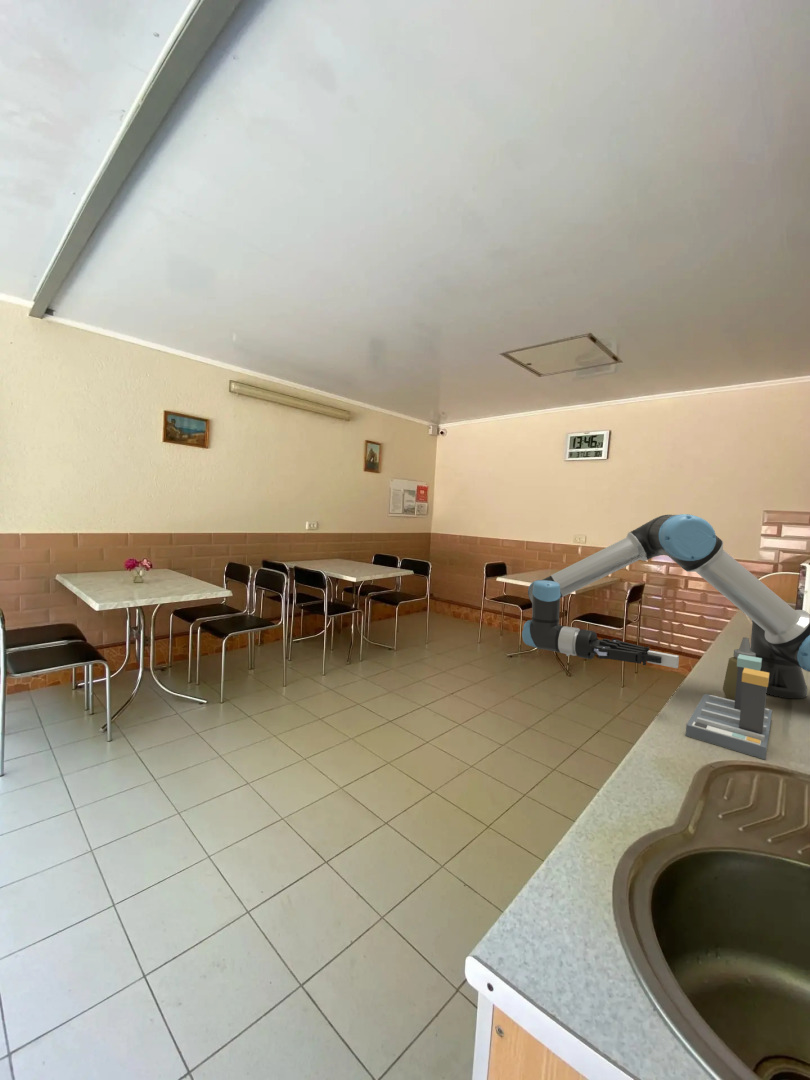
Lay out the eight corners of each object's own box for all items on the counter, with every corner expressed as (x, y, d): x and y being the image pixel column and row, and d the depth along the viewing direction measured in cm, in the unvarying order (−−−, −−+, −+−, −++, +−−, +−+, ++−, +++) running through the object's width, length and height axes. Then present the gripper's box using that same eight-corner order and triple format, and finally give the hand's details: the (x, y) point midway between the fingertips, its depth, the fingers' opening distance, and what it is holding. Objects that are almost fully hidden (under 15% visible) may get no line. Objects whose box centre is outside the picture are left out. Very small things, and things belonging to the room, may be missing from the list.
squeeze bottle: (754, 703, 122) (760, 636, 120) (763, 714, 114) (769, 644, 113) (718, 696, 125) (723, 632, 124) (725, 708, 118) (730, 639, 117)
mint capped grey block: (734, 705, 113) (739, 654, 112) (757, 711, 110) (761, 658, 109) (733, 711, 109) (737, 658, 109) (756, 717, 107) (760, 662, 106)
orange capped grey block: (739, 724, 102) (744, 667, 102) (764, 731, 100) (769, 672, 99) (737, 730, 99) (742, 672, 98) (763, 738, 96) (768, 677, 95)
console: (703, 702, 121) (704, 689, 120) (771, 719, 112) (772, 705, 111) (685, 735, 102) (686, 720, 102) (765, 759, 93) (766, 743, 92)
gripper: (586, 650, 130) (682, 670, 114) (569, 661, 120) (671, 685, 104) (587, 624, 129) (684, 641, 114) (570, 633, 119) (673, 652, 104)
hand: (677, 662), depth 109 cm, fingers closed
